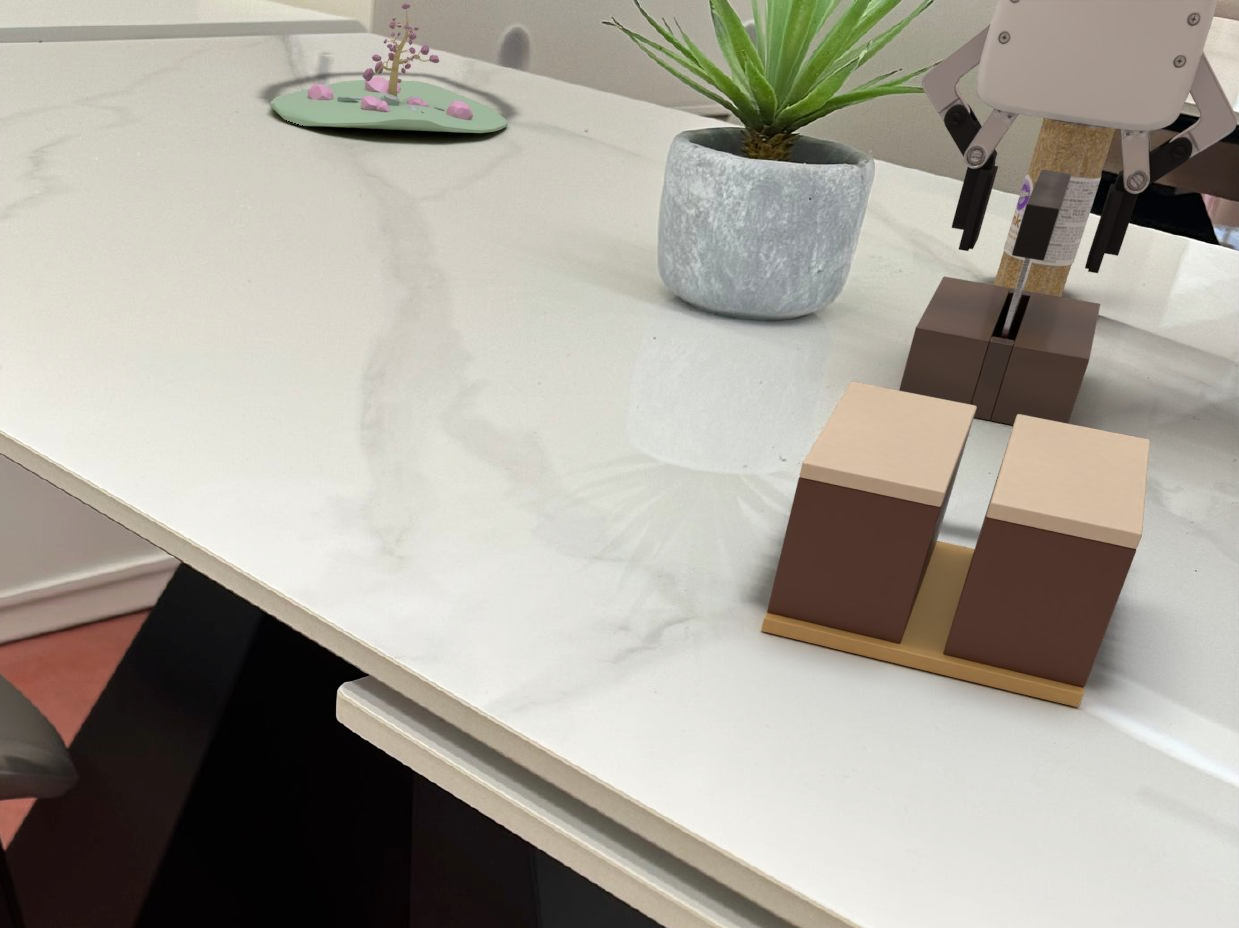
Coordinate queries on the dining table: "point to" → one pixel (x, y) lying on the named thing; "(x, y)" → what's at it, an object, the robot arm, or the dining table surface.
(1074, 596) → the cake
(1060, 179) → the slim kitchen knife
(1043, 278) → the sprinkles bottle
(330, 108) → the plant
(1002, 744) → the dining table surface
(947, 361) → the knife block
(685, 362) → the dining table surface
